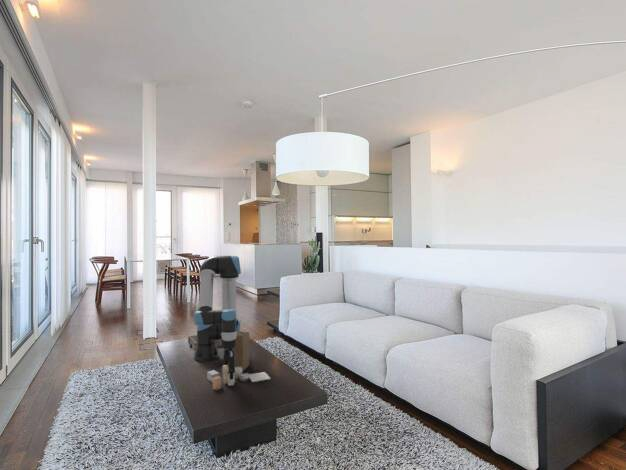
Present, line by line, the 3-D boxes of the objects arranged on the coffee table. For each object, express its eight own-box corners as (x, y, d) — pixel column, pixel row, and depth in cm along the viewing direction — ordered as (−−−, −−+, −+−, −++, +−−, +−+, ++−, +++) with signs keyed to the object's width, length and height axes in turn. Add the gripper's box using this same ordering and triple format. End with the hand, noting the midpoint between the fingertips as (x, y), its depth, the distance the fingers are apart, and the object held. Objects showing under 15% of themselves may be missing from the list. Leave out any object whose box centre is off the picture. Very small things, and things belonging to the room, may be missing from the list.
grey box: (207, 379, 194) (207, 371, 194) (214, 377, 196) (214, 370, 196) (212, 382, 189) (212, 374, 189) (219, 380, 192) (219, 373, 192)
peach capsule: (211, 387, 183) (212, 377, 183) (220, 385, 185) (220, 375, 185) (213, 390, 179) (213, 380, 179) (222, 389, 181) (222, 379, 181)
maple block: (222, 380, 191) (222, 365, 191) (232, 379, 194) (232, 364, 194) (224, 384, 186) (224, 368, 186) (235, 382, 189) (235, 367, 189)
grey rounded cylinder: (233, 376, 197) (233, 367, 197) (241, 375, 199) (241, 366, 199) (235, 379, 193) (235, 369, 194) (242, 377, 195) (242, 368, 195)
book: (194, 351, 243) (194, 343, 244) (188, 343, 263) (188, 336, 263) (238, 344, 259) (238, 337, 259) (229, 337, 278) (229, 330, 278)
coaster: (247, 375, 198) (247, 374, 198) (264, 372, 202) (264, 371, 202) (252, 382, 189) (252, 381, 189) (270, 379, 193) (270, 378, 193)
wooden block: (242, 371, 204) (242, 336, 205) (226, 370, 206) (226, 335, 207) (249, 365, 214) (249, 331, 214) (233, 364, 216) (233, 331, 216)
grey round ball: (238, 379, 194) (238, 373, 194) (247, 377, 196) (247, 372, 196) (240, 382, 189) (240, 376, 189) (249, 380, 191) (250, 375, 191)
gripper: (217, 334, 199) (217, 374, 199) (226, 345, 178) (225, 390, 178) (231, 333, 202) (231, 372, 202) (241, 344, 181) (240, 388, 181)
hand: (228, 381), depth 190 cm, fingers open, 11 cm apart
